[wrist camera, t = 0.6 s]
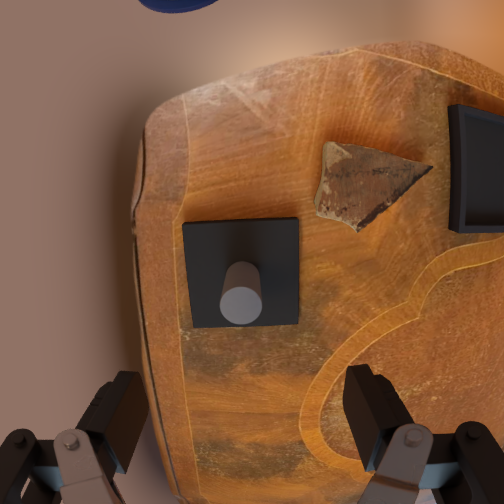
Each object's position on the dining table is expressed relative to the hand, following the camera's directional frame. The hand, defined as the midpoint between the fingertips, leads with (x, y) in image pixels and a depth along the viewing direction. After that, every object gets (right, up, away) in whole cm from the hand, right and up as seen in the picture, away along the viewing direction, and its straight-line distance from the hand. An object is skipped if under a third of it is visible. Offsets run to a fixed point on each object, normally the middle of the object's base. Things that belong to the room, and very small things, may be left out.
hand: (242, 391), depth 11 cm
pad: (0, +3, +18) cm, 18 cm away
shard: (+10, +13, +16) cm, 23 cm away
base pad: (+27, +14, +15) cm, 34 cm away
